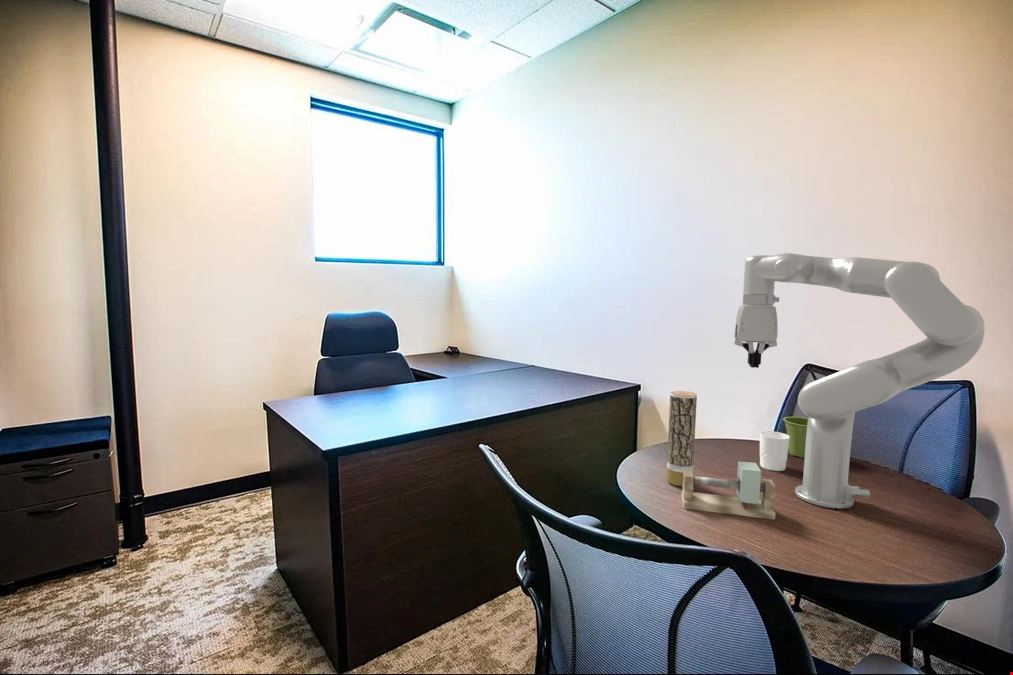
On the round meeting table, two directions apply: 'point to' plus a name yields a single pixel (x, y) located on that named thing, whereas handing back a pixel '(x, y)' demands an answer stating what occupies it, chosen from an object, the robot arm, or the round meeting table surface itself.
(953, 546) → the round meeting table surface
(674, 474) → the paper tube
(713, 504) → the rod stand
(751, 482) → the collar
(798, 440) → the plant pot
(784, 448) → the white cup
